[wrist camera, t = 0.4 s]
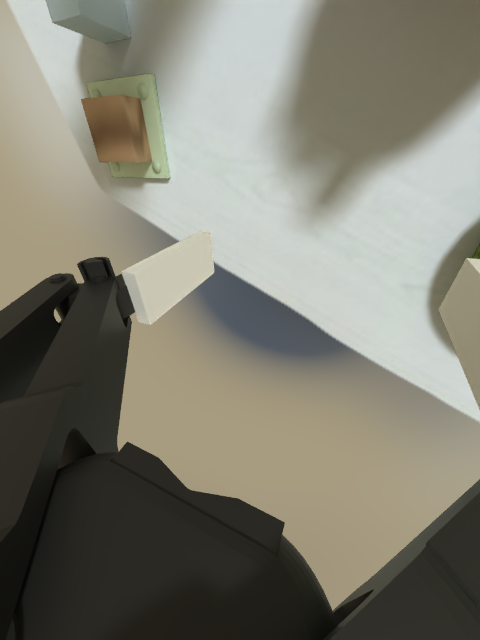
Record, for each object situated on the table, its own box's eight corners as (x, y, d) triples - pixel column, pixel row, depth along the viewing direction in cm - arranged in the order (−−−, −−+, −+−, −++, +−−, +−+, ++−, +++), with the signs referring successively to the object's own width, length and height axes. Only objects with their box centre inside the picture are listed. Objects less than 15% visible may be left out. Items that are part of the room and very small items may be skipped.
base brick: (102, 102, 39) (80, 99, 36) (140, 98, 37) (120, 94, 34) (117, 161, 44) (99, 162, 41) (152, 161, 41) (135, 162, 38)
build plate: (91, 84, 39) (84, 82, 38) (154, 75, 35) (148, 73, 34) (116, 176, 47) (111, 176, 46) (170, 177, 43) (165, 178, 42)
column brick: (93, -12, 33) (31, -47, 27) (120, -21, 31) (61, -61, 25) (105, 43, 35) (52, 22, 30) (131, 37, 34) (80, 14, 28)
